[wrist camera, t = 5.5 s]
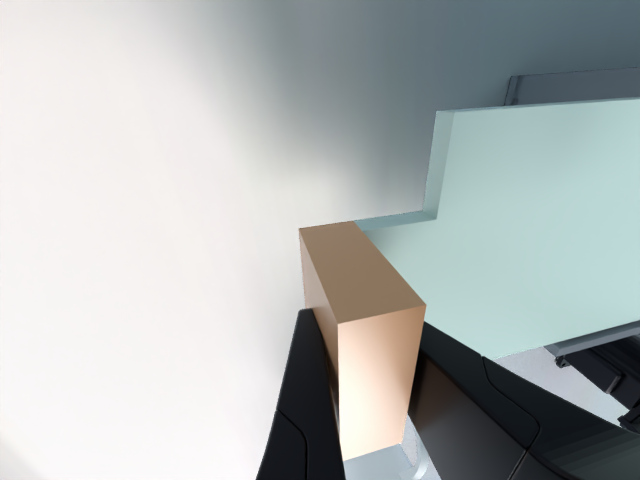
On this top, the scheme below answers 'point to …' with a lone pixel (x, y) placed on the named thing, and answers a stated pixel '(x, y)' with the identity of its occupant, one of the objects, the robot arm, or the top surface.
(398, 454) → the cup
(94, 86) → the top surface
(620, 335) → the tub
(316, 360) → the robot arm
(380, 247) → the lid
